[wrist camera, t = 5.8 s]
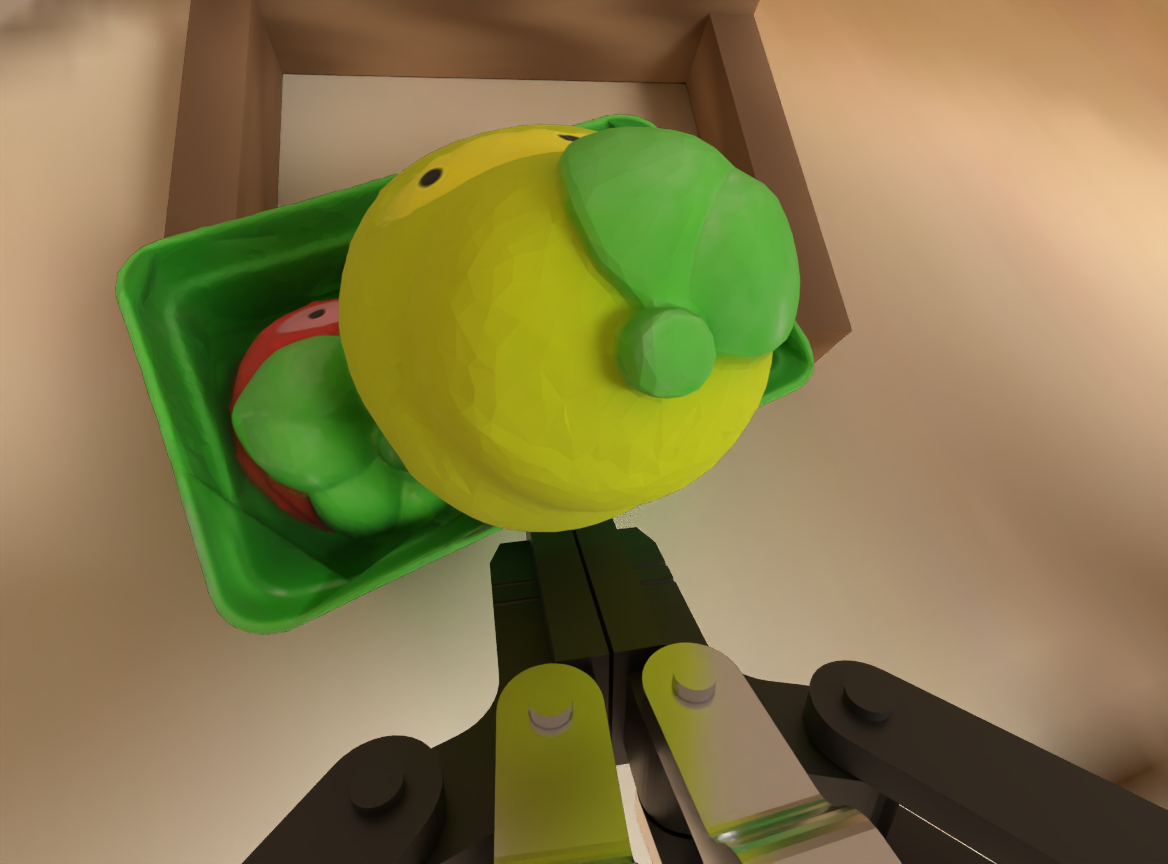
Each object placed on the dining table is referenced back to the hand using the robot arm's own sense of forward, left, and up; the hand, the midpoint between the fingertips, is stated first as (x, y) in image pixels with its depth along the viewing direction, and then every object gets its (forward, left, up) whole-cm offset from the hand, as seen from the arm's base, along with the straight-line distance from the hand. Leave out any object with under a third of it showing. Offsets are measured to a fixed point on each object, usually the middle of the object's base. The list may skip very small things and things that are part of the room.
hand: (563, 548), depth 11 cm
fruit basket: (+1, -3, -4) cm, 5 cm away
